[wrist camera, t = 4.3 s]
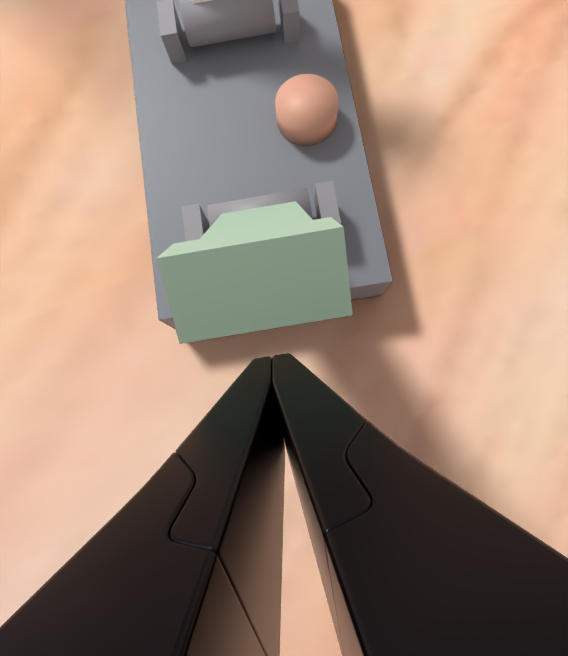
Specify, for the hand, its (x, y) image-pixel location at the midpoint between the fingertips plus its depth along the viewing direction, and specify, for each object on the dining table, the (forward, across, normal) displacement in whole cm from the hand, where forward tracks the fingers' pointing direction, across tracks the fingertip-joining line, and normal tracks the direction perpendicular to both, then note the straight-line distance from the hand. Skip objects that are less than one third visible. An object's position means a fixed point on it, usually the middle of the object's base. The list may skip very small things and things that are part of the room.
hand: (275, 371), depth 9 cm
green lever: (+11, 0, 0) cm, 11 cm away
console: (+18, 0, +2) cm, 18 cm away
